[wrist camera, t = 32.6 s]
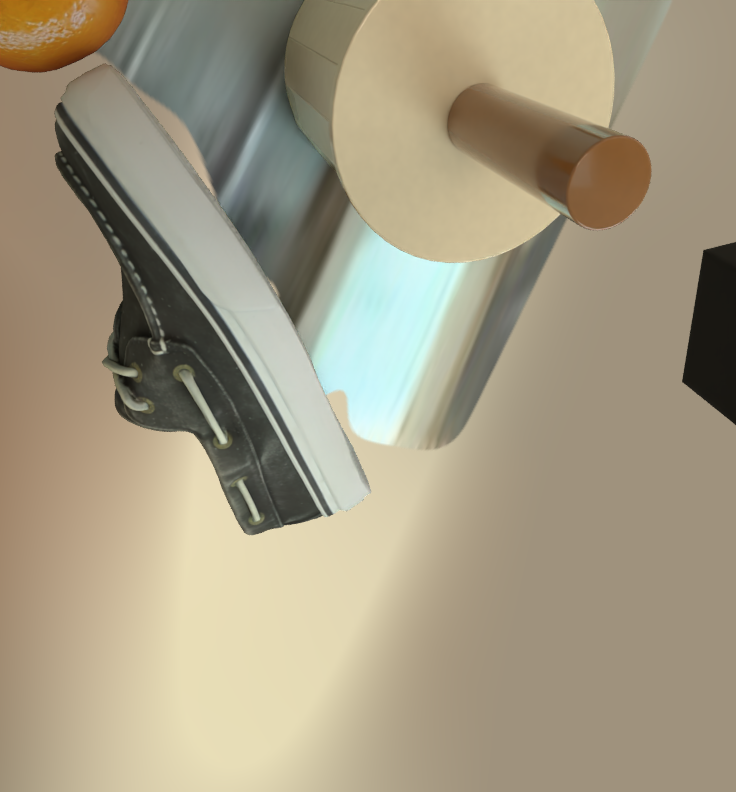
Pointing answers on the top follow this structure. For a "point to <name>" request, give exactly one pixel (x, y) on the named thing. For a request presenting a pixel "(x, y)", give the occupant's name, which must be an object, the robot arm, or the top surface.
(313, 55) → the pot
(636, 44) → the top surface
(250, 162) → the top surface
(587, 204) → the lid
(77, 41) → the fruit
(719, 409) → the robot arm
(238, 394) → the boat shoe
